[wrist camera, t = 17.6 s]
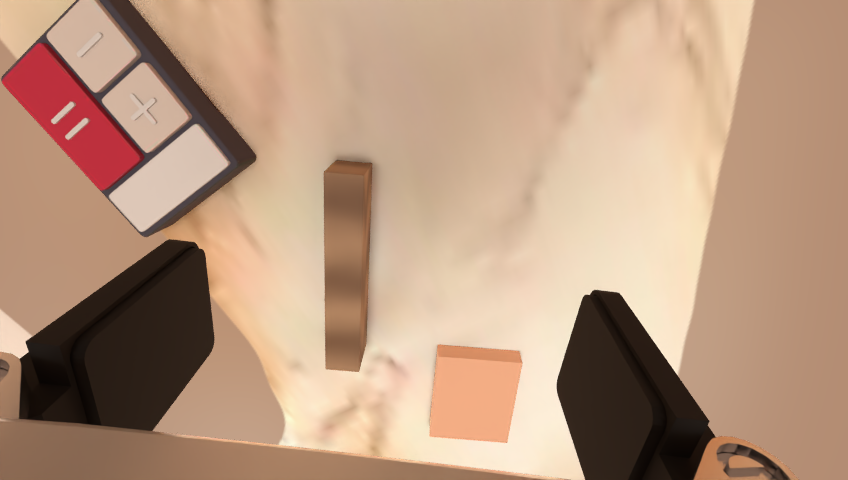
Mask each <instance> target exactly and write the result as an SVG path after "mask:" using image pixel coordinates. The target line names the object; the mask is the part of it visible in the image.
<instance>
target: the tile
mask: <svg viewBox="0 0 848 480" xmlns="http://www.w3.org/2000/svg"><path fill="white" fill-rule="evenodd" d="M521 368H522V360H521V357H520V353H519V351H511V350H498V349H486V348H473V347H460V346H448V345H438V348H437V358H436V368H435V377H434V387H433V397H432V406H431V416H430V437H441V438H453V439H466V440H478V441H491V442H503V443H507V440H508V435H509V430H510V425H511V419H512V414H513V409H514V404H515V399H516V394H517V388H518V383H519V378H520V373H521Z"/></svg>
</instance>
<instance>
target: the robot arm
mask: <svg viewBox="0 0 848 480" xmlns="http://www.w3.org/2000/svg"><path fill="white" fill-rule="evenodd" d="M26 345H27V348H28V351H29V352H28V353H27V354H26V355H24V356H23V357H22V358H20V359H19V358H18V357H16V356H14V355H13V354H10V353H4V352H0V480H569V479H562V478H554V477H546V476H538V475H529V474H521V473H513V472H505V471H496V470H488V469H480V468H471V467H463V466H455V465H447V464H438V463H430V462H422V461H413V460H404V459H396V458H387V457H379V456H370V455H361V454H353V453H344V452H335V451H326V450H318V449H309V448H300V447H291V446H283V445H273V444H264V443H255V442H246V441H237V440H227V439H219V438H209V437H201V436H191V435H182V434H173V433H164V432H155V431H153V429H154V428H155V426H156V425H157V424H158V423H159V421H160V420H161V419H162V417H163V416H164V414H165V413H166V412H167V410H168V409H169V408H170V406H171V405H172V404H173V403H174V401H175V400H176V399H177V397H178V396H179V394H180V393H181V392H182V391H183V389H184V388H185V386H186V385H187V384H188V382H189V381H190V380H191V378H192V377H193V376H194V374H195V373H196V372H197V370H198V369H199V368H200V366H201V365H202V364H203V362H204V361H205V360H206V358H207V357H208V356H209V354H210V353H211V351H212V349H213V345H214V332H213V321H212V313H211V303H210V294H209V285H208V276H207V267H206V257H205V252H204V251H203V250H202V249H199V248H198V246H197V244H196V243H195V242H188V241H180V240H170V239H169V240H167V241H165V242H164V243H163V244H161V245H160V246H158V247H157V248H156V249H154V250H153V251H151V252H150V253H149V254H147V255H146V256H144V257H143V258H142V259H141V260H139V261H137V262H136V263H135V264H133V265H132V266H131V267H129V268H128V269H126V270H125V271H124V272H122V273H121V274H119V275H118V276H117V277H115V278H114V279H112V280H111V281H110V282H108V283H107V284H106V285H104V286H103V287H102V288H100V289H99V290H97V291H96V292H94V293H93V294H91V295H90V296H89V297H87V298H86V299H84V300H83V301H82V302H80V303H79V304H78V305H76V306H75V307H73V308H72V309H71V310H69V311H68V312H66V313H65V314H64V315H62V316H61V317H59V318H58V319H57V320H56V321H54V322H52V323H51V324H50V325H48V326H47V327H45V328H44V329H43V330H41V331H40V332H38V333H37V334H36V335H34V336H33V337H31V338H30V339H29V340H27V341H26ZM557 393H558V397H559V400H560V403H561V406H562V409H563V412H564V415H565V418H566V422H567V425H568V428H569V431H570V434H571V437H572V440H573V443H574V446H575V449H576V452H577V455H578V459H579V462H580V465H581V468H582V471H583V474H584V477H585V480H799V479H798V478H797V477H796V476H795V474H794V473H793V472H792V471H791V470H790V469H789V468H788V467H787V466H786V465H785V464H784V463H782V462H781V461H780V460H779V459H778V458H776V457H775V456H774V455H772V454H770V453H769V452H767V451H766V450H764V449H762V448H761V447H759V446H757V445H755V444H752V443H750V442H748V441H745V440H742V439H738V438H735V437H727V436H720V437H715V435H714V434H713V432H712V431H711V430H710V428H709V427H708V423H709V420H708V419H707V417H706V416H705V414H704V413H703V411H702V410H701V409H700V407H699V406H698V404H697V403H696V402H695V400H694V399H693V397H692V396H691V394H690V393H689V392H688V390H687V389H686V387H685V386H684V384H683V383H682V381H681V380H680V379H679V377H678V376H677V374H676V373H675V371H674V370H673V369H672V367H671V366H670V364H669V363H668V361H667V360H666V359H665V357H664V356H663V354H662V353H661V351H660V350H659V349H658V347H657V346H656V344H655V343H654V341H653V340H652V339H651V337H650V336H649V334H648V333H647V331H646V330H645V329H644V327H643V326H642V324H641V323H640V321H639V320H638V319H637V317H636V316H635V314H634V313H633V312H632V310H631V309H630V307H629V306H628V304H627V303H626V302H625V300H624V299H623V297H622V296H621V295H620V294H619V293H617V292H608V291H600V290H594V291H592V293H591V294H590V295H585V296H584V297H583V299H582V302H581V305H580V308H579V311H578V315H577V318H576V321H575V324H574V327H573V331H572V334H571V337H570V340H569V343H568V347H567V350H566V353H565V356H564V360H563V363H562V366H561V369H560V372H559V376H558V379H557Z"/></svg>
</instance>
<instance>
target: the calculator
mask: <svg viewBox="0 0 848 480" xmlns="http://www.w3.org/2000/svg"><path fill="white" fill-rule="evenodd" d="M1 80H2V83H3V85H4V86H5V87H6V88H7V89H8V90H9V92H10V93H11V94H12V95H13V96H14V97H15V98H16V99H17V100H18V101H19V103H20V104H21V105H22V106H23V107H24V108H25V109H26V110H27V111H28V112H29V113H30V115H31V116H32V117H33V118H34V119H35V120H36V121H37V122H38V123H39V124H40V125H41V127H43V129H44V130H45V131H46V132H47V133H48V134H49V135H50V136H51V137H52V138H53V140H54V141H55V142H56V143H57V144H58V145H59V146H60V147H61V148H62V150H63V151H64V152H65V153H66V154H67V155H68V156H69V157H70V158H71V159H72V160H73V162H75V164H76V165H77V166H78V167H79V168H80V169H81V170H82V171H83V172H84V174H85V175H86V176H87V177H88V178H89V179H90V180H91V181H92V182H93V183H94V184H95V186H97V188H98V189H99V190H100V191H101V192H102V193H103V194H104V195H105V196H106V197H107V198H108V200H109V201H111V203H112V204H113V205H114V206H115V207H116V208H117V209H118V210H119V211H120V213H121V214H122V215H123V216H124V217H125V218H126V219H127V220H128V221H129V222H130V224H131V225H132V226H133V227H134V228H135V229H136V230H137V231H138V232H139V233H140V234H141V235H142V236H144V237H148V236H150V235H152V234H154V233H156V232H158V231H160V230H162V229H164V228H166V227H168V226H170V225H172V224H174V223H175V222H176V221H178V220H179V219H180V218H182V217H183V216H184V215H185V214H187V213H188V212H189V211H191V210H192V209H193V208H195V207H196V206H197V205H199V204H200V203H201V202H202V201H204V200H205V199H206V198H208V197H209V196H210V195H212V194H213V193H214V192H215V191H217V190H218V189H219V188H221V187H222V186H223V185H225V184H226V183H227V182H229V181H230V180H231V179H232V178H234V177H235V176H236V175H238V174H239V173H240V172H242V171H243V170H244V169H246V168H247V167H248V166H249V165H251V164H252V163H253V162H254V161H255V160H256V155H255V153H254V152H253V151H252V149H251V148H250V147H249V146H248V145H247V143H246V142H245V141H244V140H243V139H242V137H241V136H240V135H239V134H238V132H237V131H236V130H235V129H234V128H233V126H232V125H231V124H230V123H229V122H228V120H227V119H226V118H225V117H224V116H223V115H222V114H221V113H220V112H218V111H217V109H216V108H215V107H214V106H213V104H212V103H211V102H210V101H209V99H208V98H207V97H206V96H205V94H204V93H203V92H202V90H201V89H200V88H199V87H198V85H197V84H196V83H195V82H194V80H193V79H192V78H191V77H190V75H189V74H188V73H187V72H186V70H185V69H184V68H183V66H182V65H181V64H180V63H179V61H178V60H177V59H176V58H175V56H174V55H173V54H172V53H171V51H170V50H169V49H168V48H167V46H166V45H165V44H164V43H163V41H162V40H161V39H160V38H159V37H158V35H157V34H156V33H155V32H154V31H153V29H152V28H151V27H150V26H149V24H148V23H147V22H146V21H145V20H144V18H143V17H142V16H141V15H140V13H139V12H138V11H137V10H136V9H135V7H134V6H133V5H132V4H131V3H130V1H129V0H76V1H75V2H74V3H73V4H72V5H71V6H70V7H69V8H68V9H67V10H66V11H65V12H64V13H63V14H62V15H61V16H60V18H59V19H58V20H57V21H56V22H55V23H54V24H53V25H52V26H51V27H50V28H49V29H48V30H47V31H46V32H45V33H44V34H43V35H42V36H41V37H40V38H39V39H38V40H37V41H36V42H35V43H34V44H33V45H32V46H31V47H30V48H29V49H28V50H27V51H26V52H25V53H24V54H23V55H22V56H21V57H20V58H19V59H18V60H17V62H16V63H15V64H14V65H13V66H12V67H11V68H10V69H9V70H8V71H7V72H6V73H5V74H4V75H3V76H2V79H1Z"/></svg>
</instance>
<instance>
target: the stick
mask: <svg viewBox="0 0 848 480" xmlns="http://www.w3.org/2000/svg"><path fill="white" fill-rule="evenodd" d="M371 185H372V163H362V162H350V161H338V160H336V161H335V162H334V163H333V164H332V165H331V166H330V167H329V168H328V169H327V170H325V171H324V246H325V357H326V369H330V370H342V371H354V372H359V370H360V366H361V362H362V358H363V354H364V350H365V347H366V336H367V305H368V275H369V245H370V215H371Z"/></svg>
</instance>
